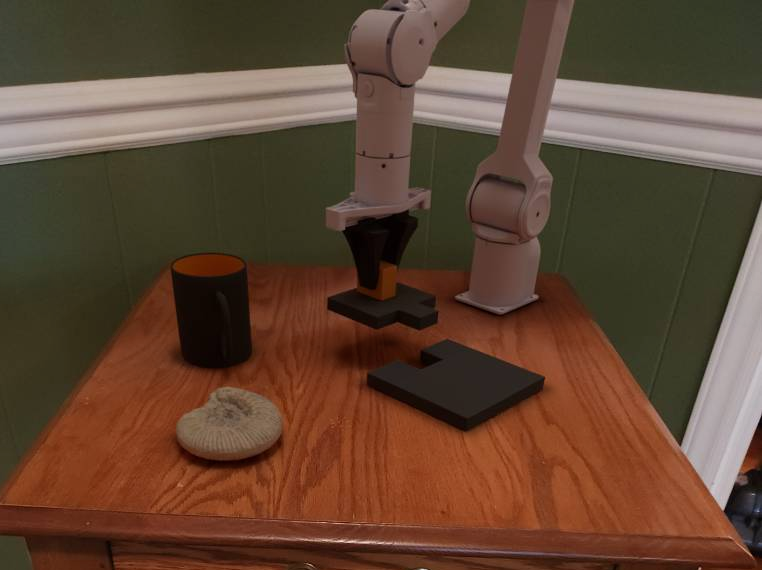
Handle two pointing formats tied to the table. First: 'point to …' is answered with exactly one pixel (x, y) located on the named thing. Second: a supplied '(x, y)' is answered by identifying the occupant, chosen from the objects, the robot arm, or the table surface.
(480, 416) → the charcoal mat
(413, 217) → the robot arm
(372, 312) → the black pad
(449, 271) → the table surface
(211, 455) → the fossil
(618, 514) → the table surface
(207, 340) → the mug
